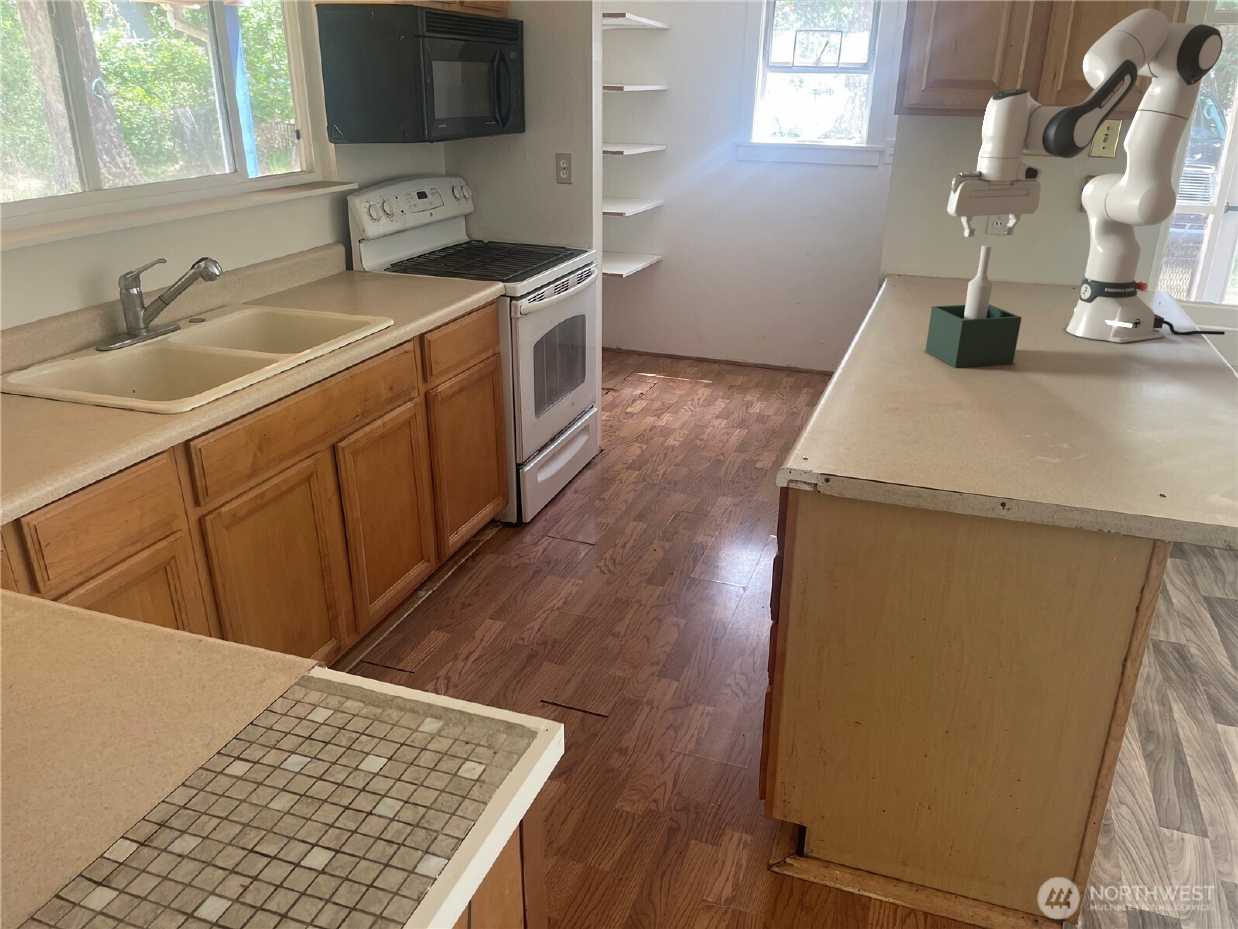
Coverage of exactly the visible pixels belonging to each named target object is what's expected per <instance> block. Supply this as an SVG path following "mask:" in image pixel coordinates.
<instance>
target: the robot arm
mask: <svg viewBox="0 0 1238 929" xmlns="http://www.w3.org/2000/svg"><path fill="white" fill-rule="evenodd" d="M1222 50H1223V37H1222V34H1221V31H1220V30H1219V29H1218V28H1216V27H1214V26H1211V25H1207V24H1194V23H1193V24H1192V23H1187V22H1170V23H1169V20H1168V18H1167V16H1166V15H1165V14H1164V13H1163V12H1162V11H1160V10H1158V9H1155V8H1142V9H1139V10H1137V11H1135V12H1133V13H1131V14H1130V15H1128V16H1127V17H1125V18H1124V19H1122V20H1121V21H1119V22H1118V23H1117V24H1115V25H1114V26H1112V27H1111V28H1110V29H1109V30H1108V31H1106V32H1105V33H1104V34H1103V35H1102V36H1100V38H1098V39H1097V40H1096V41H1095V43H1093V45H1092V46H1090V48H1089V49H1088V51H1086V53H1085V55H1084V58H1083V63H1082V70H1083V76H1084V78H1085V80H1086V82H1087V83H1088V85H1089V86H1090V87H1091V88H1092V89H1094V90H1092V91H1091V92H1090V94H1089V95H1088V96H1087V97H1086V98H1085V100H1083V101H1082V102H1080V103H1078V104H1073V105H1068V106H1067V105H1066V106H1057V105H1056V106H1049V105H1043V104H1042V103H1039V102H1037V101H1036V100H1035V99H1034V98H1033V97H1032V96H1031V93H1030V91H1029V90H1028V89H1025V88H1013V89H1007V90H1006V89H1005V90H1002V91H999V92H996V93H995V94H993V95H992V96H991V98H990V99H989V102H988V104H987V106H986V111H985V115H984V119H983V125H982V131H981V140H982V145H981V148H980V151H979V153H978V159H977V165H976V171H968V172H967V171H962V172H959V174H957V175H956V176H954V178H953V179H952V183H951V191H950V195H949V199H948V201H947V207H946V211H947V213H948V215H949V216H952V217H957V218H959V217H960V218H961V219H960V221H961V223H962V226H963V228H964V231H963V236H964V237H966V238H974V237H975V232H976V228H973V227H972V225H971V222H972V221H973V217H983V216H1007V215H1009V216H1008V218H1009V219H1010V220H1009V222H1008V223H1007V224H1006V225H1005V226H1003V227H1002V235H1003V236H1012V235H1013V234H1014V228H1015V227H1016V226H1017V225H1018V223H1019V221H1020V220H1021V218H1022V215H1031V214H1033V215H1034V214H1035V212H1036V211H1037V210H1038V208H1039V204H1040V199H1041V183H1040V181H1039V180H1040V179H1041V178H1042V174H1043V171H1042V169H1041V168H1038V167H1036V166H1033V165H1029V164H1027V163H1024V162H1023V157H1024V153H1026V154H1034V155H1035V154H1036V155H1046V156H1053V157H1058V158H1062V159H1072V158H1074V157H1077V156H1078V155H1080V154H1081V153H1082V152H1084V151H1085V150H1086V149H1087V148H1088V147H1089V145H1090V144H1091V143H1092V142H1093V139H1094V137H1095V135H1096V133H1097V132H1098V131H1099V129H1100V128H1101V126H1102V125H1103V124H1104V123H1105V121H1107V120H1108V119H1109V118H1110V116H1111V115H1112V114H1113V112H1114V111H1115V110H1116V109H1117V108H1118V107H1119V106H1120V104H1121V103H1122V102H1123V101H1124V100H1125V98H1126V97H1127V96H1128V95H1129V94H1130V92H1131V91H1132V89H1133V88H1134V86H1135V84H1136V82H1137V79H1138V75H1139V76H1143V77H1150V78H1151V83H1150V85H1149V86H1148V88H1147V90H1146V92H1145V94H1144V95H1143V97H1142V100H1141V102H1140V103H1139V106H1138V108H1137V111H1136V113H1135V115H1134V118H1133V119H1132V122H1131V125H1130V127H1129V129H1128V131H1127V134H1126V136H1125V139H1124V142H1123V148H1124V151H1125V153H1126V156H1127V158H1126V159H1127V160H1126V162H1127V163H1126V168H1125V173H1119V172H1113V173H1112V172H1111V173H1105V174H1101V175H1097V176H1095V177H1093V178H1091V179H1090V180H1089V181H1088V182H1087V184H1085V186H1084V188H1083V190H1082V193H1081V205H1082V207H1083V209H1084V210H1085V212H1086V214H1087V218H1088V219H1087V220H1088V226H1089V236H1090V237H1089V238H1090V239H1089V241H1090V244H1089V252H1088V256H1087V263H1086V268H1085V274H1084V275H1083V276H1082V278H1081V282H1080V287H1079V298H1078V301H1077V304H1076V306H1075V308H1074V312H1073V315H1072V317H1071V319H1070V322H1069V323H1068V325H1067V327H1066V329H1065V331H1066V332H1068V333H1069V334H1070V335H1074V336H1078V337H1080V338H1085V339H1090V340H1099V341H1108V342H1113V343H1118V344H1119V343H1120V344H1123V343H1124V344H1125V343H1132V342H1137V341H1138V342H1139V341H1145V340H1153V339H1160V338H1163V332H1162V331H1160V330H1161V329H1163V325H1166V326H1168V327H1169V331H1170V333H1171V334H1173V335H1175V336H1189V335H1191V336H1192V335H1215V336H1216V335H1217V336H1224V335H1225V334H1226V332H1225V331H1222V330H1221V331H1219V330H1187V331H1178V330H1175V327H1174V324H1173V323H1172V322H1170V321H1168V320H1165V317H1162V316H1160V315H1158V314H1156V313H1155V312H1154V310H1153V309H1152V308H1151V307H1150V306H1148V304H1146V302H1144V301H1143V300H1142V299H1141V298H1140V297H1139V296H1138V291H1141V292H1144V291H1146V290H1148V288H1149V284H1148V283H1147V282H1143V281H1136V280H1135V277H1136V273H1137V268H1138V264H1139V260H1140V256H1141V246H1140V244H1139V242H1138V241H1137V239H1136V235H1135V229H1134V227H1145V226H1146V227H1147V226H1155V225H1159V224H1161V223H1162V222H1164V221H1166V220H1167V219H1168V218H1169V217H1170V216H1171V214H1172V213H1173V211H1174V209H1175V206H1176V204H1177V203H1176V202H1177V195H1176V191H1175V190H1174V187H1173V184H1172V167H1173V162H1174V158H1175V153H1176V151H1177V148H1178V146H1179V144H1180V141H1181V139H1182V136H1183V133H1184V132H1185V129H1186V127H1187V124H1188V122H1189V121H1190V117H1191V116H1192V112H1193V110H1194V107H1195V104H1196V102H1197V98H1198V94H1199V90H1200V85H1201V82H1202V81H1201V80H1202V79H1203V77H1204V76H1206V75H1207V74H1208V73H1209V72H1210V71H1211V70H1213V67H1215V65H1216V63H1217V62H1218V60H1219V59H1220V56H1221V54H1222ZM1159 329H1160V330H1159Z"/></svg>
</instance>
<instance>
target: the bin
mask: <svg viewBox="0 0 1238 929" xmlns="http://www.w3.org/2000/svg"><path fill="white" fill-rule="evenodd" d="M965 306H966V304H955V305H954V304H953V305H951V304H950V305H935V306H934V305H933V306H931V308H930V309H931V310H930V317H929V324H928V331H927V338H926V344H925V352H926V353H928V354H929V355H931V356H933V357H935V358H937V359H939V360H940V361H942V362H944V363H946V364H948V365H950V366H951V367H953V368H955V369H957V368H968V367H987V366H988V367H989V366H1003V365H1004V366H1005V365H1013V364H1014V361H1015V356H1016V350H1017V345H1018V339H1019V333H1020V330H1021V329H1020V328H1021V323H1022V316H1019V315H1016V314H1014V313H1012V312H1010V311H1007V310H1005V309H1002V308H999V307H997V306H994V305H992V304H990V303H989V305H988V311H987V316H986V318H982V319H964V313H965Z"/></svg>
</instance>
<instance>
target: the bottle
mask: <svg viewBox="0 0 1238 929" xmlns="http://www.w3.org/2000/svg"><path fill="white" fill-rule="evenodd" d="M991 251H992V245H989V244H982V245H981V249H980V256H979V263H978V269H977V274H976V275H975V276H974V278H973V279H971V280H970V281H969V282H968V285H967V291H966V292H967V293H966V300H965V305H966V306H965V313H964V319H982V318H986V316H987V311H988V305H989V304H990V300H991V295H992V291H993V290H992V289H993V283H992V281H991V280H990V279H989V276H988V269H989V262H990V257H991Z"/></svg>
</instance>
